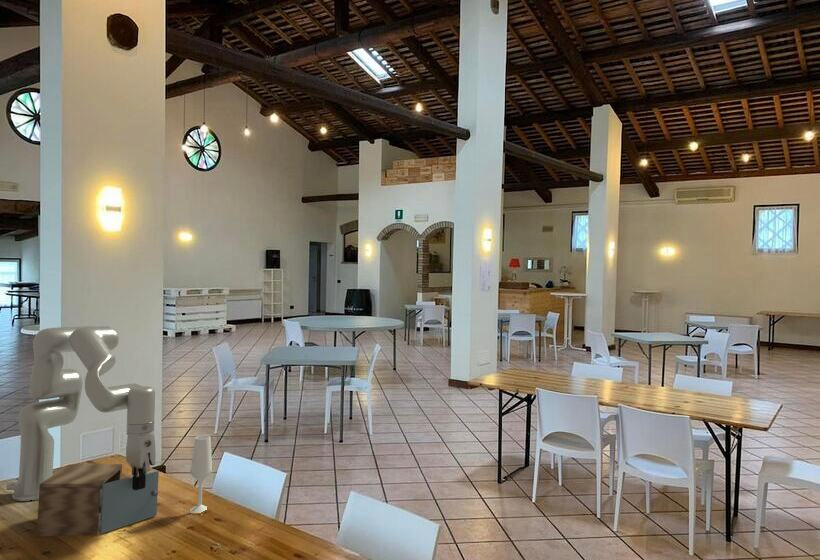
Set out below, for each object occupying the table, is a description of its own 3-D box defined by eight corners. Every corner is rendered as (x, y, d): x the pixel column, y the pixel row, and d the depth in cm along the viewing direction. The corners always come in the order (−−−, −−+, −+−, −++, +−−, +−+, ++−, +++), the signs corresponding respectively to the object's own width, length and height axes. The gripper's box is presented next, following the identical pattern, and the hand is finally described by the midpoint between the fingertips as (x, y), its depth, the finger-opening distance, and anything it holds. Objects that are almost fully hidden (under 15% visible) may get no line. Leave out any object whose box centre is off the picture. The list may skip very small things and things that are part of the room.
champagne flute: (185, 509, 173) (189, 436, 174) (206, 504, 178) (209, 433, 178) (192, 516, 168) (196, 441, 169) (213, 511, 173) (216, 438, 173)
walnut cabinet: (36, 536, 151) (39, 484, 152) (66, 511, 168) (68, 464, 169) (96, 535, 154) (98, 483, 154) (119, 510, 170) (122, 464, 171)
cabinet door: (96, 533, 154) (99, 485, 154) (154, 514, 168) (156, 470, 168) (100, 535, 152) (103, 487, 153) (158, 516, 166) (160, 471, 167)
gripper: (164, 429, 159) (163, 490, 158) (141, 422, 168) (139, 480, 168) (139, 434, 153) (137, 498, 152) (116, 426, 162) (114, 486, 162)
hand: (138, 488), depth 160 cm, fingers closed
